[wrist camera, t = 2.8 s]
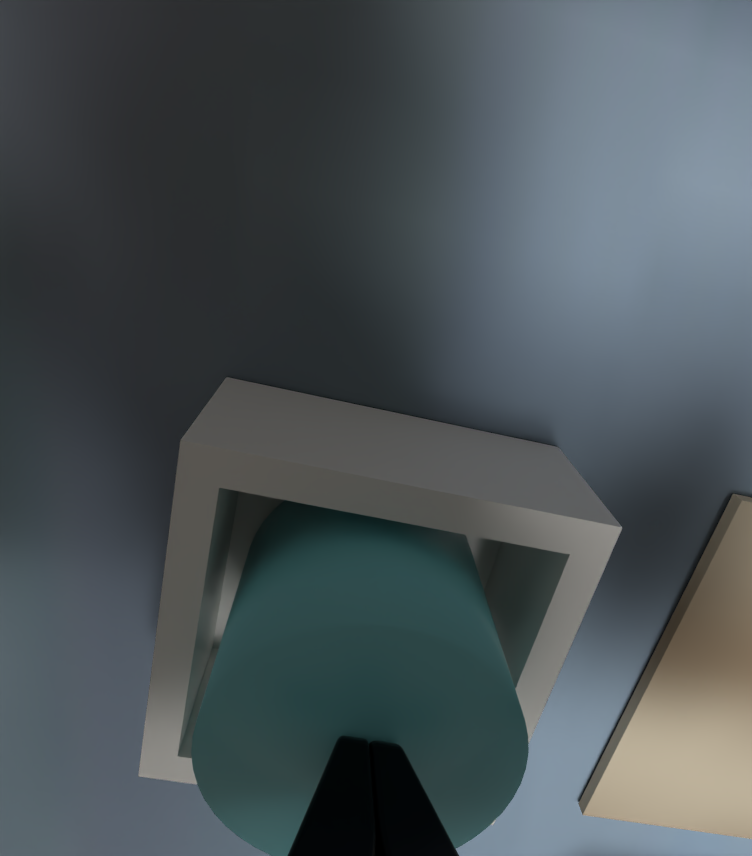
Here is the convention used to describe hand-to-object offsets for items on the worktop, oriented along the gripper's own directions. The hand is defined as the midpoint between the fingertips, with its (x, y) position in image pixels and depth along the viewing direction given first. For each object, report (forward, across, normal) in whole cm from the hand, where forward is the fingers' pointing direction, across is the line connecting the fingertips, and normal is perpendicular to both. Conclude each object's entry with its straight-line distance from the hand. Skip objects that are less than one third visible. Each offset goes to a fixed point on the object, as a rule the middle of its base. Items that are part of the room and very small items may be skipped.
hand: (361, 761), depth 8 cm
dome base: (+5, 0, 0) cm, 5 cm away
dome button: (+4, 0, 0) cm, 4 cm away
